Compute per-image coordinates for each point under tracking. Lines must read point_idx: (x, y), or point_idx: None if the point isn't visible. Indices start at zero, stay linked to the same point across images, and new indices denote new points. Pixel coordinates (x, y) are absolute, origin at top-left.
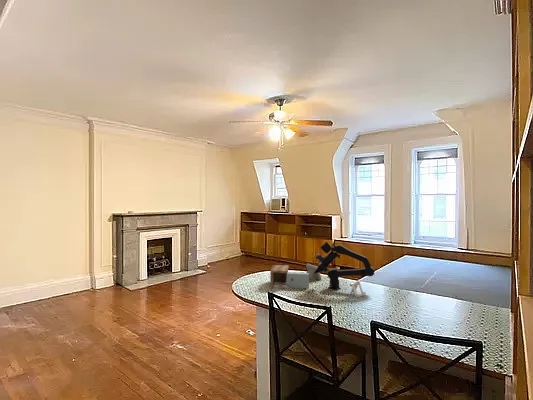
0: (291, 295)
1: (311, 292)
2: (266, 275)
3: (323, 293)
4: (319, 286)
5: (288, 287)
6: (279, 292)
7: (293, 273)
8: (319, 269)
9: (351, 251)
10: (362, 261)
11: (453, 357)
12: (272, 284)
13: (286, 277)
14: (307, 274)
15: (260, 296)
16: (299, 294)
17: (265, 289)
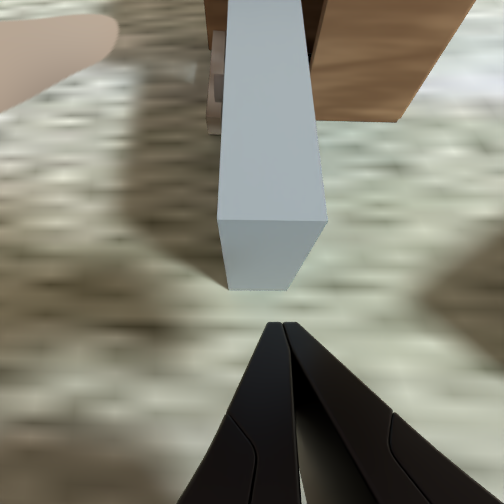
0: (5, 152)
1: (73, 316)
2: (496, 10)
3: (16, 467)
4: None
5: (208, 126)
6: (93, 83)
7: (247, 28)
8: None
9: None
10: None
11: None
12: (206, 21)
13: (313, 53)
14: (219, 196)
15: (18, 7)
16: (22, 207)
17: (164, 19)
